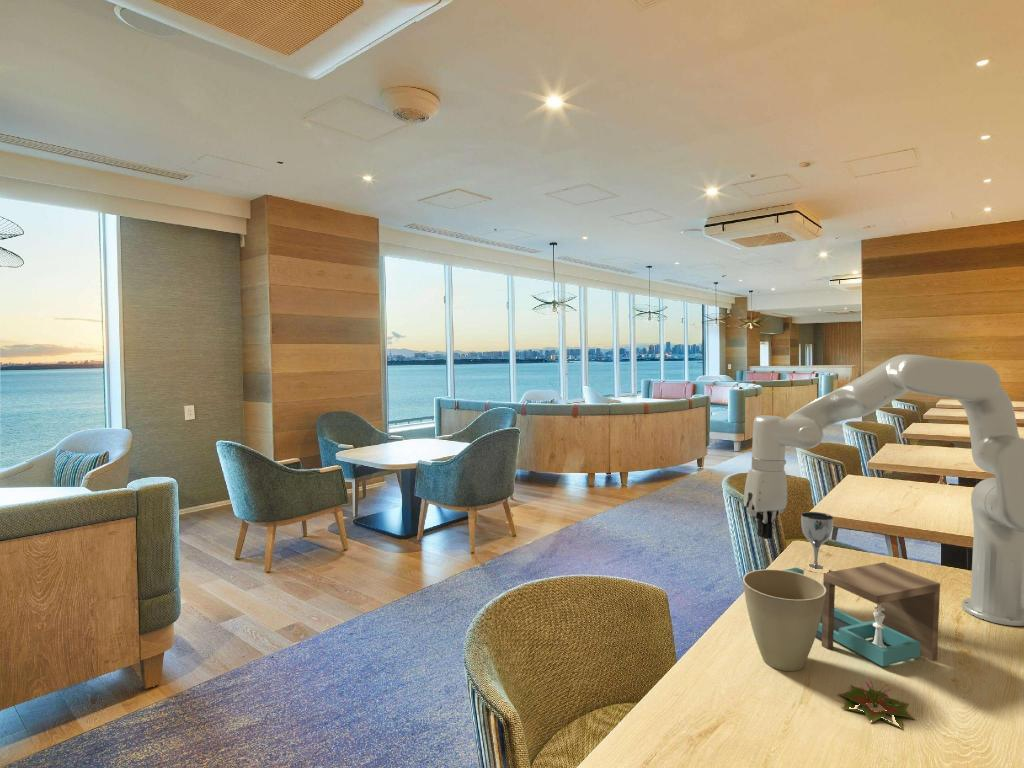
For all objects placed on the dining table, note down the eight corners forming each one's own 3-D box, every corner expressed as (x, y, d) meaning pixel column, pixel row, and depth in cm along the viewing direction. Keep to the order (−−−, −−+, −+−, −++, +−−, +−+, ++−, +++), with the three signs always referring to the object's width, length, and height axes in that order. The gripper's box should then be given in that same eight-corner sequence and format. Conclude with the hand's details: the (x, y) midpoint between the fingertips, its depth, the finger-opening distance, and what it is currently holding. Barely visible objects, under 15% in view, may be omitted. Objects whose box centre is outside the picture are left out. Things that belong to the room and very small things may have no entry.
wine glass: (832, 566, 166) (834, 514, 165) (830, 575, 160) (832, 521, 159) (801, 561, 171) (803, 510, 170) (798, 570, 164) (799, 517, 163)
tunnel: (838, 610, 139) (840, 546, 138) (936, 659, 117) (940, 583, 116) (781, 622, 133) (782, 555, 132) (873, 675, 112) (876, 596, 111)
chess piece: (896, 659, 117) (898, 611, 117) (869, 657, 118) (871, 609, 118) (886, 647, 122) (887, 600, 121) (860, 645, 123) (861, 598, 122)
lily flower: (842, 681, 111) (843, 658, 110) (920, 706, 103) (921, 681, 103) (829, 713, 101) (830, 687, 101) (913, 742, 94) (914, 714, 93)
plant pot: (759, 635, 127) (761, 563, 126) (834, 661, 117) (837, 583, 116) (728, 661, 117) (729, 583, 116) (807, 692, 106) (809, 607, 105)
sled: (796, 595, 146) (797, 567, 146) (919, 657, 117) (921, 622, 117) (764, 601, 143) (764, 573, 142) (882, 666, 114) (884, 631, 113)
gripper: (780, 460, 153) (776, 529, 154) (733, 463, 148) (730, 535, 149) (803, 466, 146) (799, 538, 147) (754, 470, 141) (751, 545, 142)
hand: (764, 536), depth 148 cm, fingers closed
